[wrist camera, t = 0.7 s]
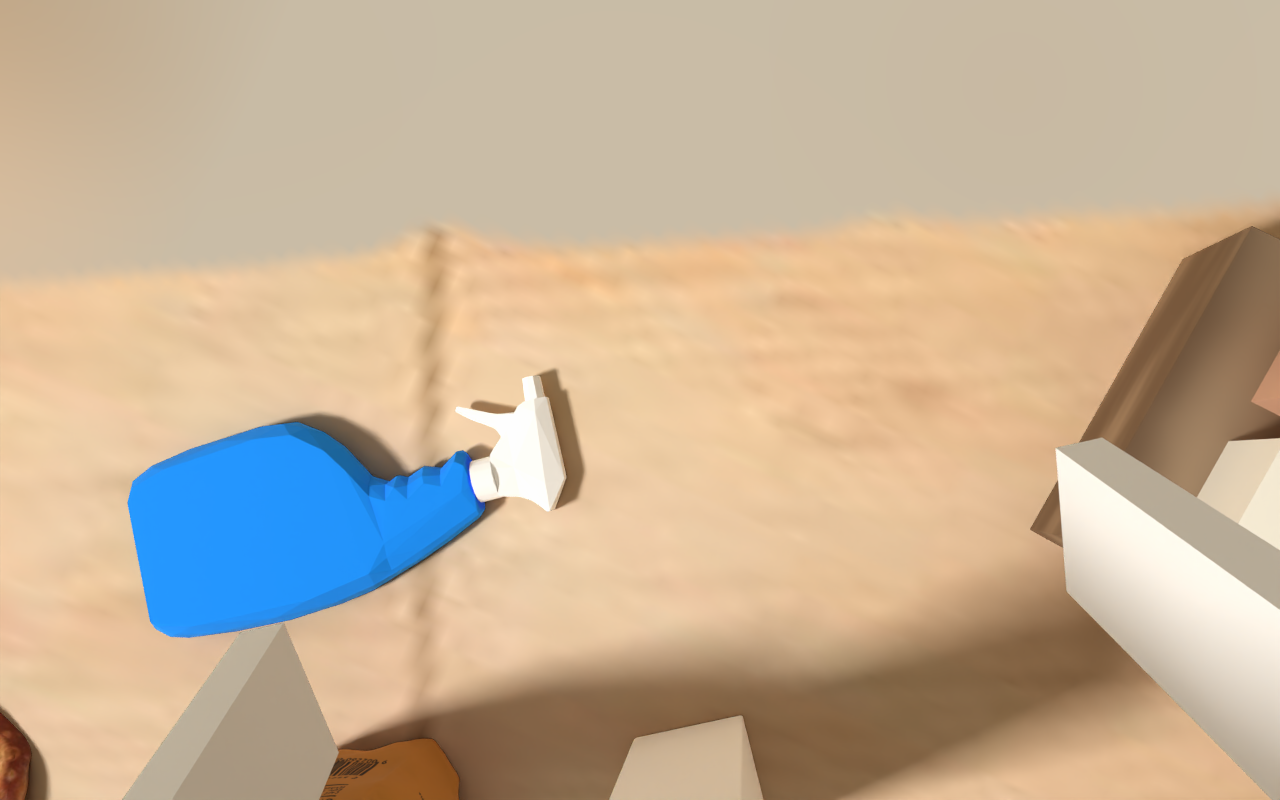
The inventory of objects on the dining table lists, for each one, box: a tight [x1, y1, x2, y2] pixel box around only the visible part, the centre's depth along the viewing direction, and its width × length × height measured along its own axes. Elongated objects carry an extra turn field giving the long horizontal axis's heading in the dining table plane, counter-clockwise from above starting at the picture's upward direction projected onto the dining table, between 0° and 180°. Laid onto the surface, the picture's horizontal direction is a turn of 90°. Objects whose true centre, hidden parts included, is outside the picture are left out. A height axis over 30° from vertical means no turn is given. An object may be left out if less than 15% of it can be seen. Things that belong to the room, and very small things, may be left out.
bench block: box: [1030, 226, 1280, 547], centre depth 40 cm, size 12×16×6 cm
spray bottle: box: [128, 375, 567, 638], centre depth 47 cm, size 3×11×24 cm
